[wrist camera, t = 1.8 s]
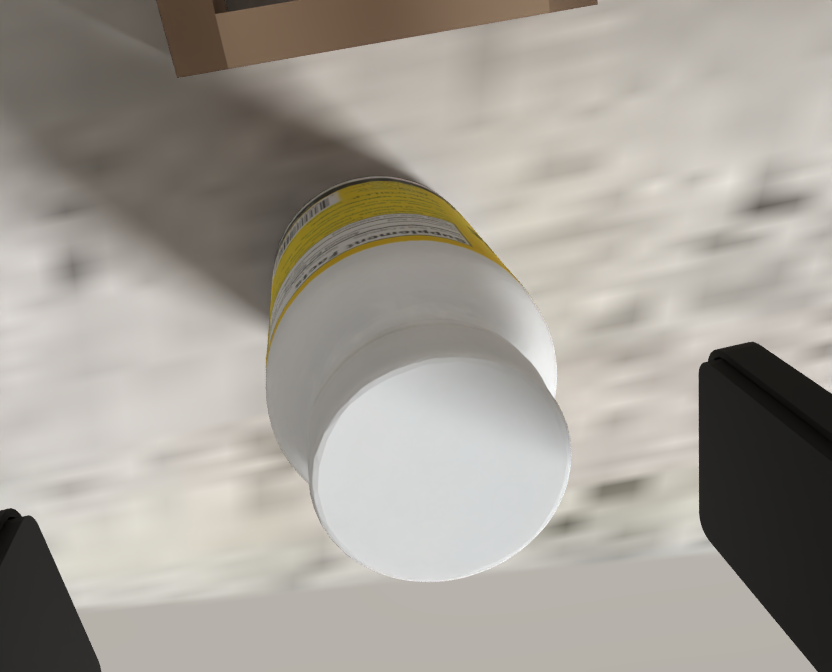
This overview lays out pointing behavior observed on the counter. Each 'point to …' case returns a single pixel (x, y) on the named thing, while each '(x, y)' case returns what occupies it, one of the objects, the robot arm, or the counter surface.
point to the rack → (319, 26)
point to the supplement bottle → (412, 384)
